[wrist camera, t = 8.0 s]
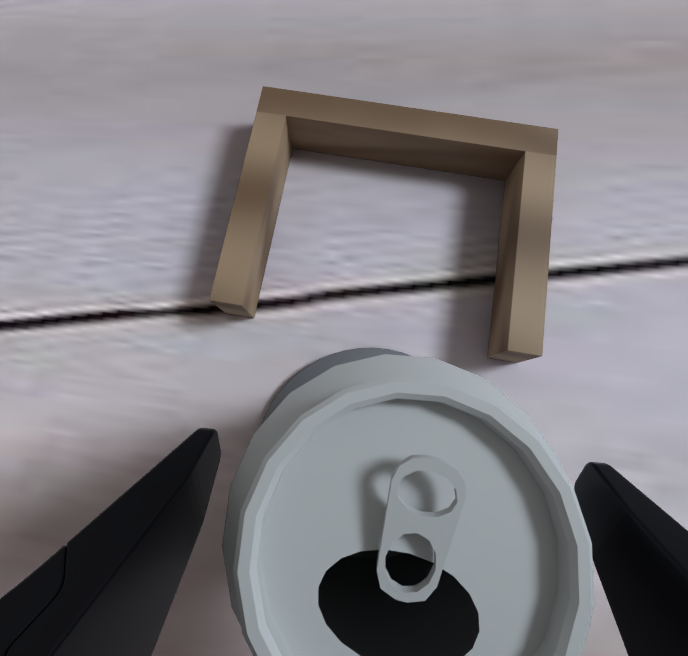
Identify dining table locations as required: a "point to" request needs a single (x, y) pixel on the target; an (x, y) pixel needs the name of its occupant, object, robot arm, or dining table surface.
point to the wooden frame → (412, 150)
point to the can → (405, 522)
